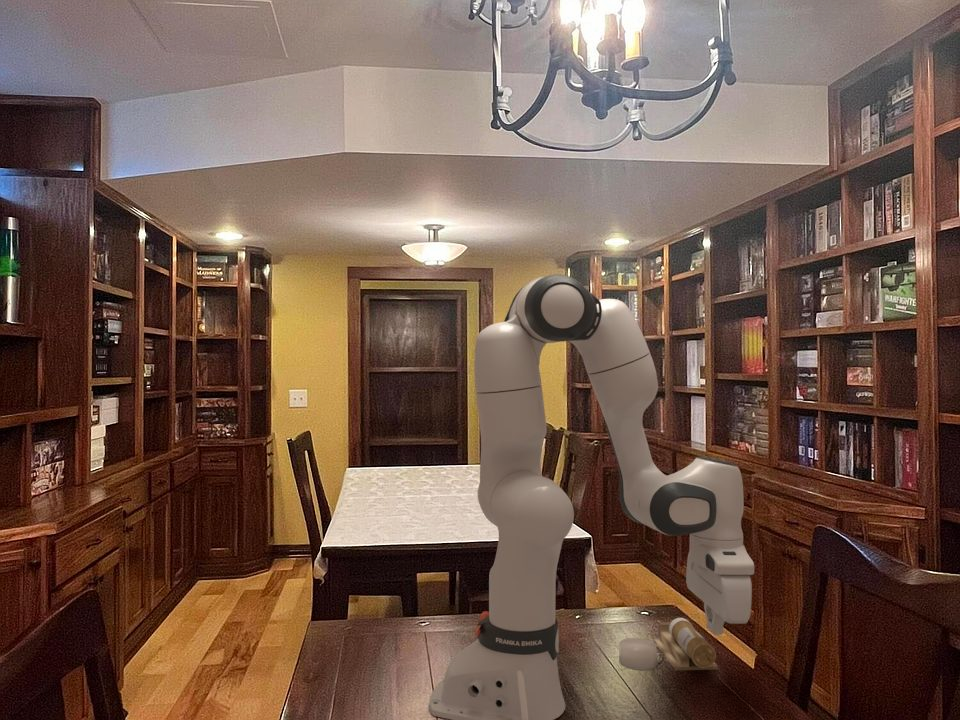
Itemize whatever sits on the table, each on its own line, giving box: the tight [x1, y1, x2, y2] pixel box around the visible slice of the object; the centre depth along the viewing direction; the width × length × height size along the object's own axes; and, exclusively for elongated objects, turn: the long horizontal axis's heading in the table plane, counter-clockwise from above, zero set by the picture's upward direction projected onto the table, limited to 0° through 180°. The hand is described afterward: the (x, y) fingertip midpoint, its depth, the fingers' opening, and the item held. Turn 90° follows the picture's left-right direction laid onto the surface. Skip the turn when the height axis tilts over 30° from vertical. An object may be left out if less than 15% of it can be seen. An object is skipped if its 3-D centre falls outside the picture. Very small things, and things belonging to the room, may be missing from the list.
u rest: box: [653, 621, 719, 671], centre depth 141 cm, size 14×8×4 cm, turn 3°
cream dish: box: [618, 637, 658, 671], centre depth 137 cm, size 7×7×4 cm
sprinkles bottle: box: [669, 617, 717, 668], centre depth 137 cm, size 5×5×14 cm
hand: (714, 631), depth 124 cm, fingers closed
